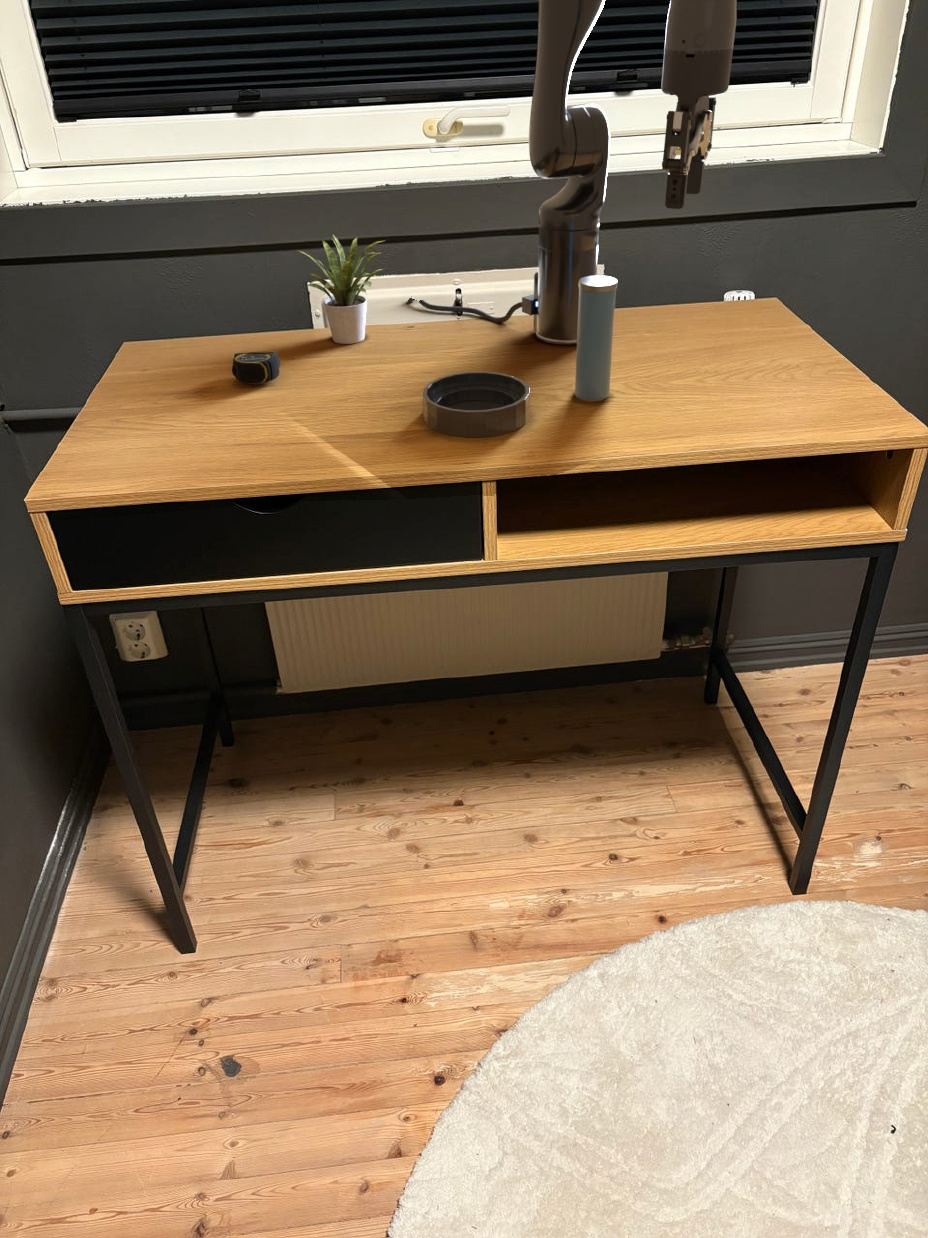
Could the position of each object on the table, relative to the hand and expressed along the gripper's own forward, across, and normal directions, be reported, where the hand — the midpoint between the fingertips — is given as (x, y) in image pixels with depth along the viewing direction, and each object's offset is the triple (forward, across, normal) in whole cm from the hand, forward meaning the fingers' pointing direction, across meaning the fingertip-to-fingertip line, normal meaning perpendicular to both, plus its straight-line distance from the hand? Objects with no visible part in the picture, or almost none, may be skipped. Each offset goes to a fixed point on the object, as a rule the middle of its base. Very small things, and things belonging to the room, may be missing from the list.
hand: (683, 200), depth 114 cm
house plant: (+26, -9, -54) cm, 60 cm away
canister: (+26, +1, -10) cm, 28 cm away
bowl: (+26, +14, -22) cm, 37 cm away
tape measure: (+26, +12, -59) cm, 66 cm away
